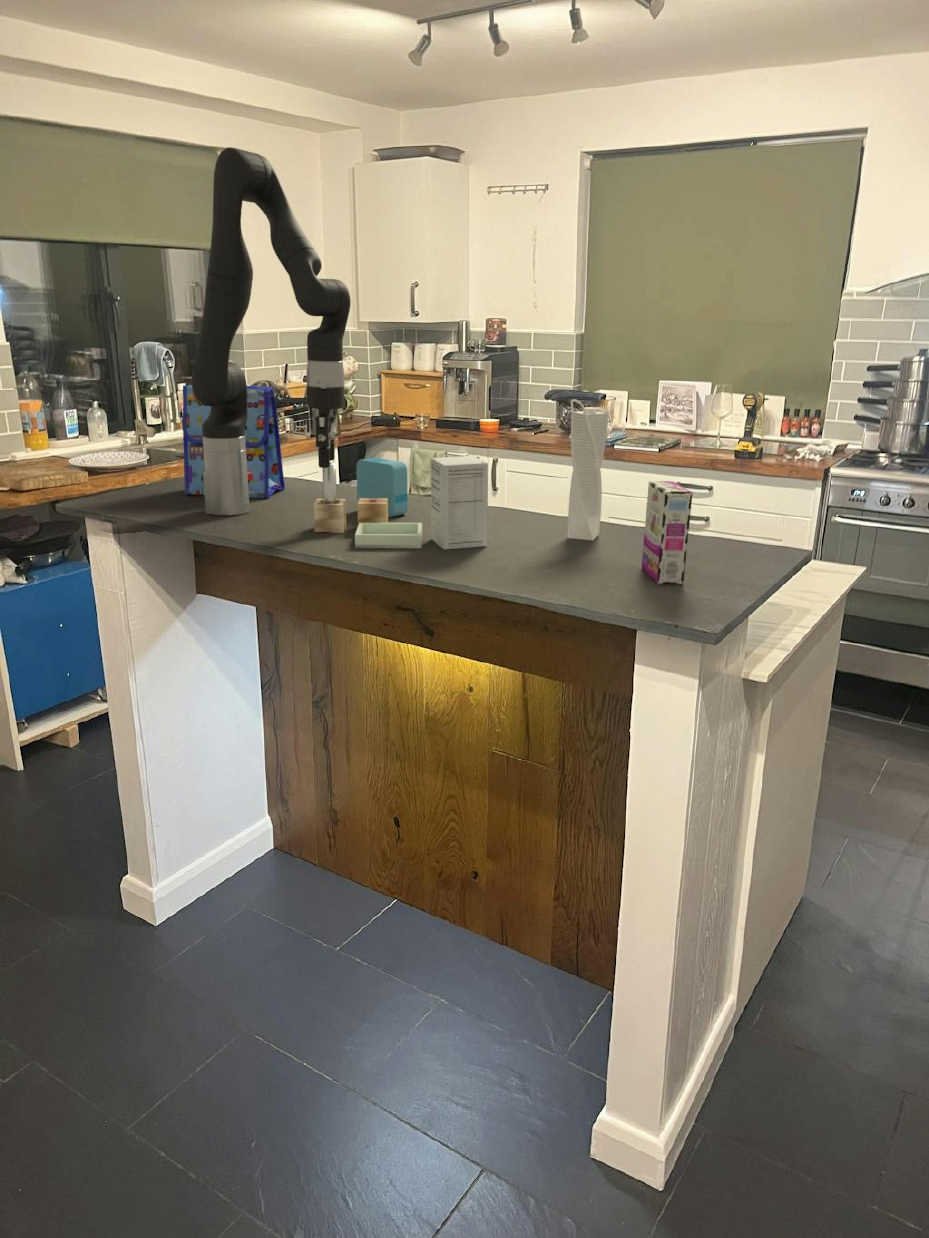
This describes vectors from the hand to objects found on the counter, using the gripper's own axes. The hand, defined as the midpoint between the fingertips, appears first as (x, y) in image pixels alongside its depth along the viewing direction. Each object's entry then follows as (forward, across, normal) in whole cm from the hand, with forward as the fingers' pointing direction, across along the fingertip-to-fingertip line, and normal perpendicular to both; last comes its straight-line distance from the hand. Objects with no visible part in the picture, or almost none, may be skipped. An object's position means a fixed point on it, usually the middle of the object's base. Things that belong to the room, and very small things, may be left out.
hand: (326, 463), depth 194 cm
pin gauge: (+14, 0, +1) cm, 14 cm away
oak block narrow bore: (+14, -1, +10) cm, 17 cm away
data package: (+14, -17, +10) cm, 25 cm away
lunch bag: (+15, -40, -28) cm, 51 cm away
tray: (+14, +10, +14) cm, 22 cm away
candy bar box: (+13, +34, +64) cm, 74 cm away
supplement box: (+14, +11, +28) cm, 33 cm away
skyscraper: (+13, +4, +54) cm, 55 cm away
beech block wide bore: (+14, 0, +1) cm, 14 cm away
